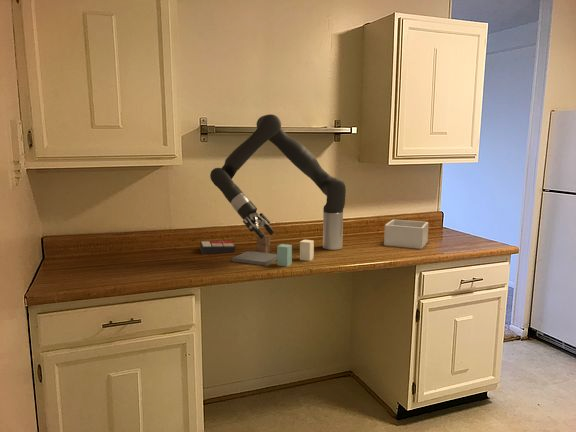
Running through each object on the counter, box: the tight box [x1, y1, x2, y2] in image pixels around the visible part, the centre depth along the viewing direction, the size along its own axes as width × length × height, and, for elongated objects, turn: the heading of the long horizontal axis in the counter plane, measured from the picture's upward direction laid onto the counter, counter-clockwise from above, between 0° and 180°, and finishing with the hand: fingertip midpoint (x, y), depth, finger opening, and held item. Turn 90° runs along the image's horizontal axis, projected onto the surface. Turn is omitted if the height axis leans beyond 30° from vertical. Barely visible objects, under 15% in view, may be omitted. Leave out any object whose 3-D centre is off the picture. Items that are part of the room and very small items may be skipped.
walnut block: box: [256, 234, 271, 253], centre depth 213 cm, size 4×4×8 cm
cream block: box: [299, 239, 315, 262], centre depth 202 cm, size 4×4×8 cm
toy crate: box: [383, 219, 429, 250], centre depth 233 cm, size 18×18×10 cm
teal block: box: [276, 243, 293, 267], centre depth 193 cm, size 4×4×8 cm
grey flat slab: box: [231, 250, 277, 267], centre depth 201 cm, size 14×16×2 cm
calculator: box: [199, 240, 236, 255], centre depth 217 cm, size 11×4×15 cm
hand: (268, 235), depth 195 cm, fingers open, 8 cm apart
